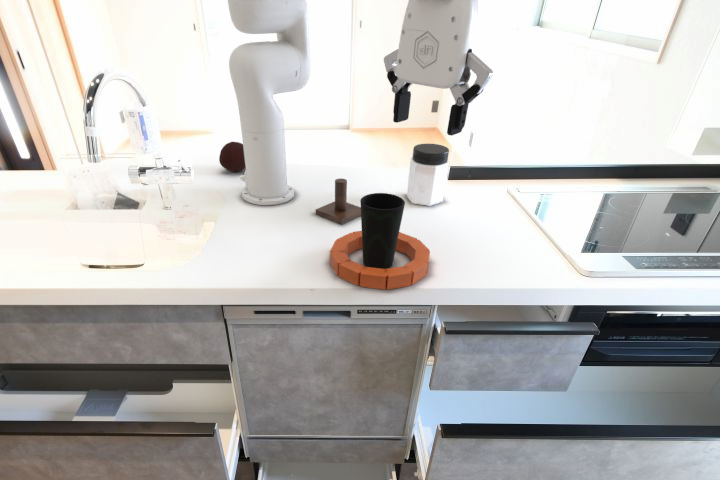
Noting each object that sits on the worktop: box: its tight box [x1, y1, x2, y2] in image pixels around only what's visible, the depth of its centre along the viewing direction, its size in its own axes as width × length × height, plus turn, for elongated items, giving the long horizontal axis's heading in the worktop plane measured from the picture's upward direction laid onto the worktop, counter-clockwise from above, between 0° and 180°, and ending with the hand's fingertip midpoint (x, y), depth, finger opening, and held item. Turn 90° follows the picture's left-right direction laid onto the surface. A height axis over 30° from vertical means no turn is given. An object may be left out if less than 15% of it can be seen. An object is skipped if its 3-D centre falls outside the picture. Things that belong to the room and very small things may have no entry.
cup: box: [359, 192, 406, 269], centre depth 80 cm, size 8×8×12 cm
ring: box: [329, 230, 431, 290], centre depth 83 cm, size 18×18×3 cm
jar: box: [406, 143, 450, 207], centre depth 105 cm, size 9×8×12 cm
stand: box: [315, 178, 361, 225], centre depth 99 cm, size 8×8×8 cm
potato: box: [218, 141, 246, 173], centre depth 121 cm, size 8×9×8 cm
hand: (426, 127), depth 68 cm, fingers open, 9 cm apart
